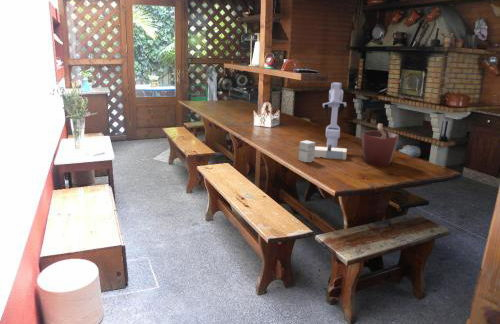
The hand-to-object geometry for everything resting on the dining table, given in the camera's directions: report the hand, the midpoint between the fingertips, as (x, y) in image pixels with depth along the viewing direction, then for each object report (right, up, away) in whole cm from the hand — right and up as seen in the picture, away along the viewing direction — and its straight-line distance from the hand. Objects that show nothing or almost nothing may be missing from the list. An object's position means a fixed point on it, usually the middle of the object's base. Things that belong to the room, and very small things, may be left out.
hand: (333, 115), depth 256 cm
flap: (+3, -27, +13) cm, 30 cm away
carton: (0, -25, +20) cm, 32 cm away
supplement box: (-16, -29, +7) cm, 34 cm away
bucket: (+29, -29, +8) cm, 42 cm away
